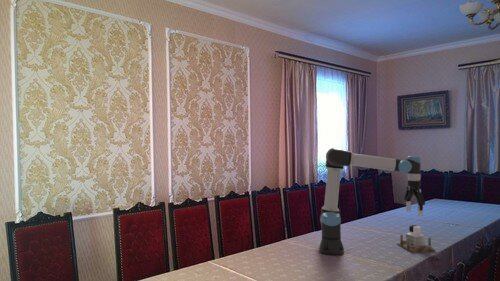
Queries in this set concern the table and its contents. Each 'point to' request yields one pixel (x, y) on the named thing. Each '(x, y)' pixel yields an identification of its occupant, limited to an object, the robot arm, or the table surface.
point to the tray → (415, 248)
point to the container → (415, 236)
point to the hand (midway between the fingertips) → (414, 213)
